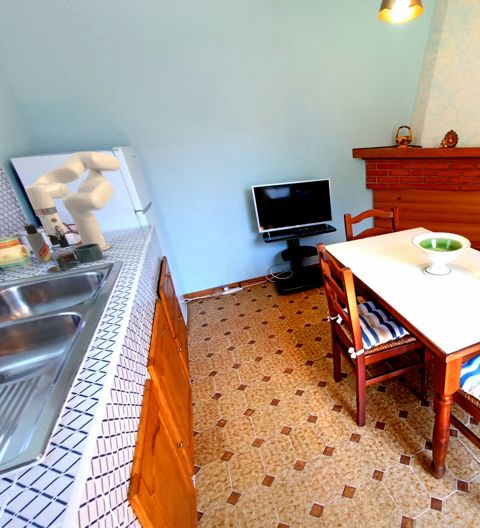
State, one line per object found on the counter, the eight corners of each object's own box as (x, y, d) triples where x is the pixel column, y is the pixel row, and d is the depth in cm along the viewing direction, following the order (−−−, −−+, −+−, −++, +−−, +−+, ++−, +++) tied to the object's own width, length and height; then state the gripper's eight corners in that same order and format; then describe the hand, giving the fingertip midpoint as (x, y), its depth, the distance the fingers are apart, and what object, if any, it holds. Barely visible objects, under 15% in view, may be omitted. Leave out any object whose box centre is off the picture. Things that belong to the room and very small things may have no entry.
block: (62, 263, 151) (58, 254, 149) (72, 259, 155) (69, 251, 153) (66, 264, 149) (62, 256, 147) (76, 261, 153) (73, 253, 151)
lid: (43, 271, 142) (38, 260, 139) (72, 263, 151) (67, 252, 148) (54, 275, 136) (48, 263, 134) (83, 266, 145) (78, 255, 143)
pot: (75, 262, 151) (69, 248, 148) (98, 255, 159) (92, 242, 156) (84, 265, 146) (78, 251, 144) (107, 258, 155) (102, 244, 152)
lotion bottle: (56, 260, 155) (39, 223, 147) (42, 265, 150) (23, 226, 142) (51, 259, 157) (33, 222, 149) (37, 263, 152) (18, 225, 144)
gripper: (64, 211, 141) (78, 245, 147) (49, 209, 149) (62, 241, 155) (43, 214, 135) (58, 250, 141) (28, 212, 142) (43, 246, 149)
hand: (61, 245), depth 148 cm, fingers open, 9 cm apart
